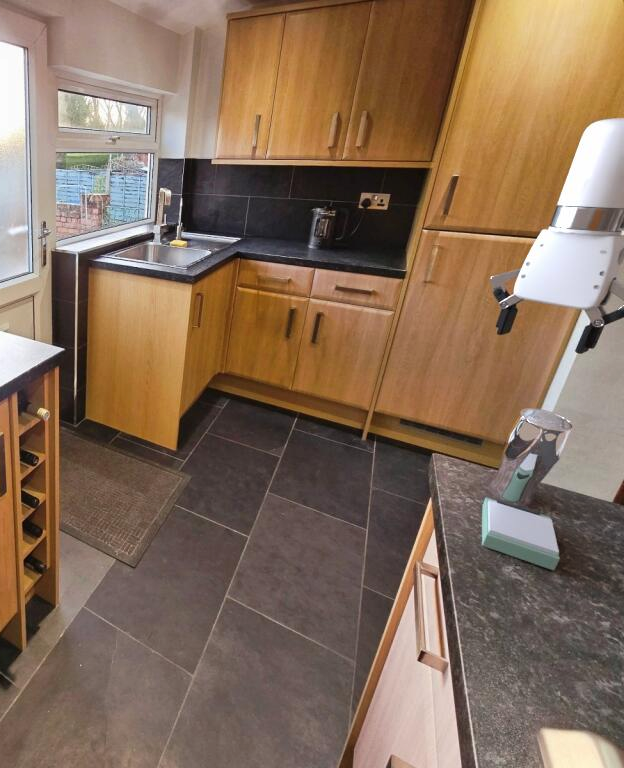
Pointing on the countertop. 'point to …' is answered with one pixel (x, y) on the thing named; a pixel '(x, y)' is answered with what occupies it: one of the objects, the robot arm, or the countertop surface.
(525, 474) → the beer glass
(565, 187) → the robot arm
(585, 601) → the countertop surface
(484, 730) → the countertop surface
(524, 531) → the scale
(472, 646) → the countertop surface
